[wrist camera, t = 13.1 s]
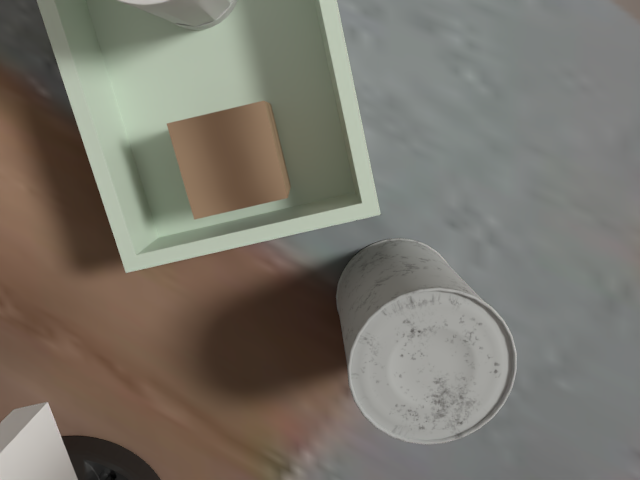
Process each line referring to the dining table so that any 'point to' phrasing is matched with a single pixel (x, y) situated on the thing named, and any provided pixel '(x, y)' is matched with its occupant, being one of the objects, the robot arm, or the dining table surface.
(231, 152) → the walnut block
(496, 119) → the dining table surface
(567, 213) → the dining table surface
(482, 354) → the white can
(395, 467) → the dining table surface
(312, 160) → the tote
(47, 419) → the robot arm
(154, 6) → the cup
